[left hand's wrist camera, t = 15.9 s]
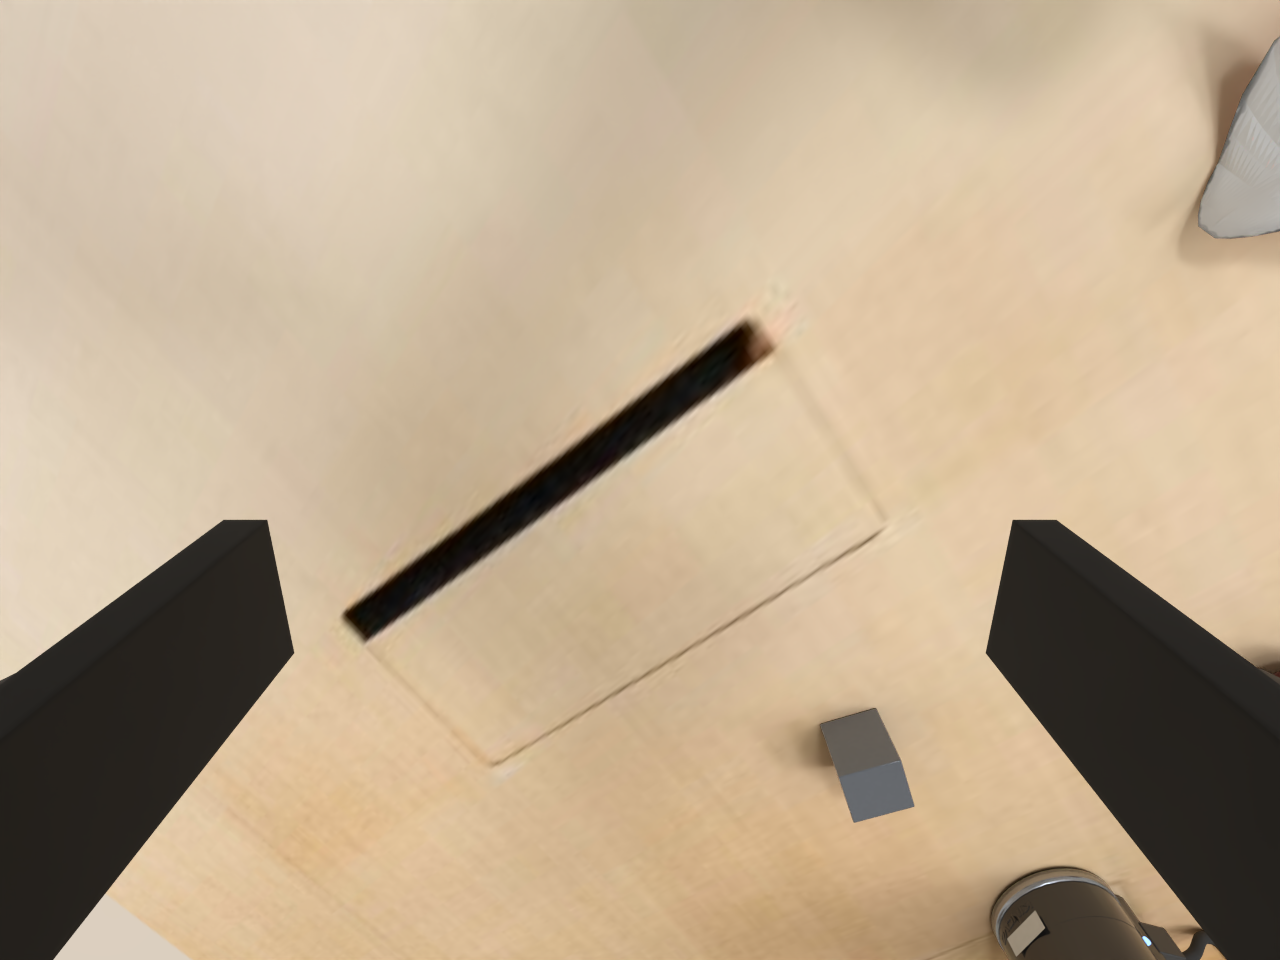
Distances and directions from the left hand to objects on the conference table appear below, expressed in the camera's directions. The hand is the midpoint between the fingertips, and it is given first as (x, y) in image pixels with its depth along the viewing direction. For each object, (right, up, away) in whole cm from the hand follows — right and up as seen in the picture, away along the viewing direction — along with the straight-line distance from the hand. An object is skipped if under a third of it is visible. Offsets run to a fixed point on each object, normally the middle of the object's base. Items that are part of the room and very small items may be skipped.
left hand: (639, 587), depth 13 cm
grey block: (+15, -16, +37) cm, 43 cm away
